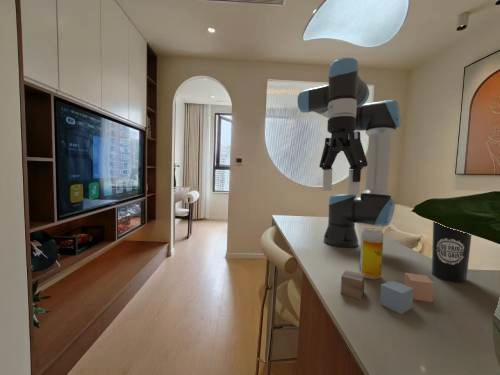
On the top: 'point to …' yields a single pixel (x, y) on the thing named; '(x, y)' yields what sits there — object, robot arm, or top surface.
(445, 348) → the top surface
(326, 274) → the top surface
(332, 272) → the top surface
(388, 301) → the slate blue cube
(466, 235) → the water bottle
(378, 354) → the top surface
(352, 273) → the walnut cube
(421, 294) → the terracotta cube
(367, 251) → the beer can
